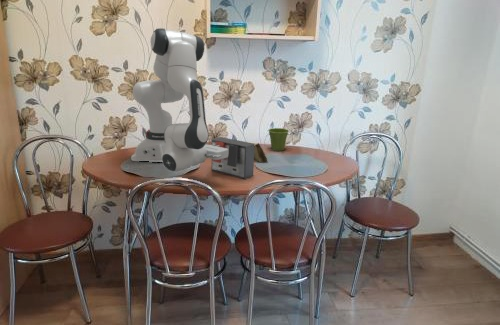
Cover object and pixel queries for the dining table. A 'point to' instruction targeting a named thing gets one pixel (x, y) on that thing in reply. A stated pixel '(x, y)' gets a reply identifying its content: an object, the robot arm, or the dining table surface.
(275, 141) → the plant pot
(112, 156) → the dining table surface
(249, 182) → the dining table surface
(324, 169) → the dining table surface
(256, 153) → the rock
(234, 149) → the rocker black
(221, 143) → the rocker red
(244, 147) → the rocker switch panel
